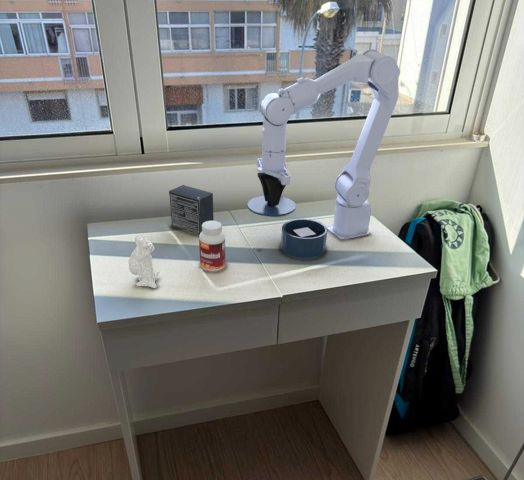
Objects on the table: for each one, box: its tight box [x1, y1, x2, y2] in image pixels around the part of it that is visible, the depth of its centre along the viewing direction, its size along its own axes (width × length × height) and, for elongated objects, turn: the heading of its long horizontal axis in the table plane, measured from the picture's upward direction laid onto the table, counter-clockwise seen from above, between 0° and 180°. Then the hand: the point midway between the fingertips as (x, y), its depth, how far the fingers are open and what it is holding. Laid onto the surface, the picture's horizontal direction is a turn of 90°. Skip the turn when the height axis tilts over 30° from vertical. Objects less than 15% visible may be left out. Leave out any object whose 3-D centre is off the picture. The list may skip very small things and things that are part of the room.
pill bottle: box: [198, 220, 226, 272], centre depth 124 cm, size 6×6×11 cm
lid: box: [246, 190, 297, 218], centre depth 133 cm, size 13×13×5 cm
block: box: [292, 227, 316, 238], centre depth 134 cm, size 4×4×4 cm
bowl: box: [280, 218, 329, 259], centre depth 134 cm, size 12×12×6 cm
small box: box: [168, 184, 215, 236], centre depth 140 cm, size 11×6×10 cm, turn 58°
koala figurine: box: [128, 236, 160, 289], centre depth 117 cm, size 8×7×12 cm
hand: (271, 202), depth 134 cm, fingers closed on lid, 2 cm apart
